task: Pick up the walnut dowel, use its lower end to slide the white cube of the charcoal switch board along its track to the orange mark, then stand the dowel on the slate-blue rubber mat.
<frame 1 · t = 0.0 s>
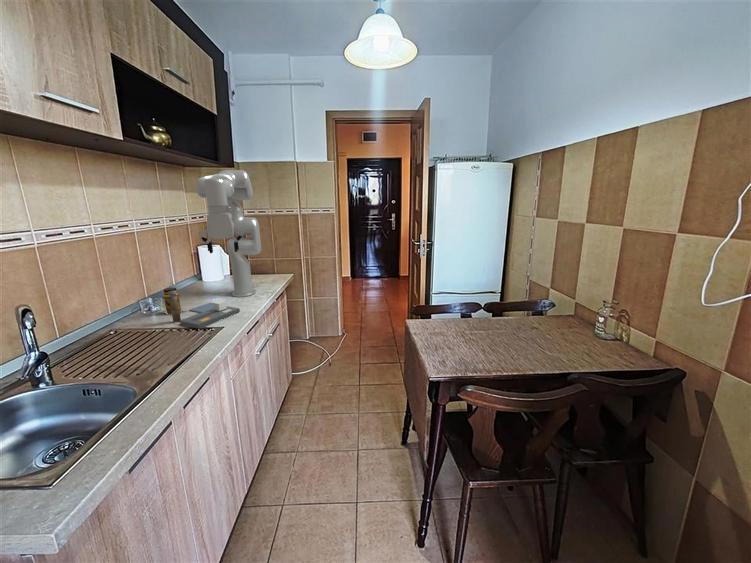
hand: (224, 252, 141), 31 cm above the worktop, tool pointing down, fingers open, 9 cm apart
switch board: (211, 318, 154), on the worktop
condiment: (173, 312, 163), on the worktop
dowel: (177, 321, 150), on the worktop
tool mat: (207, 308, 167), on the worktop
white cube: (219, 305, 158), point 4 cm above the worktop, slide at 0.0 cm
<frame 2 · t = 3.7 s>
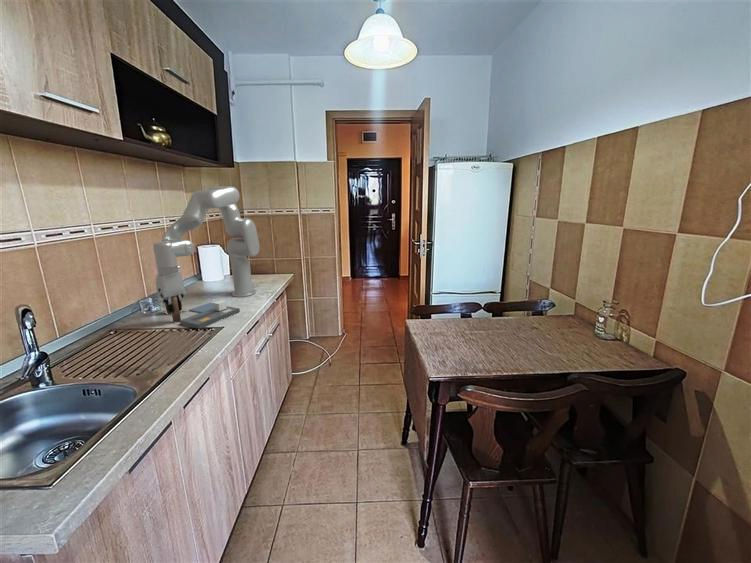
hand: (175, 310, 149), 5 cm above the worktop, tool pointing down, fingers closed on dowel, 3 cm apart
dowel: (177, 321, 150), on the worktop, touching gripper
everything else where it was.
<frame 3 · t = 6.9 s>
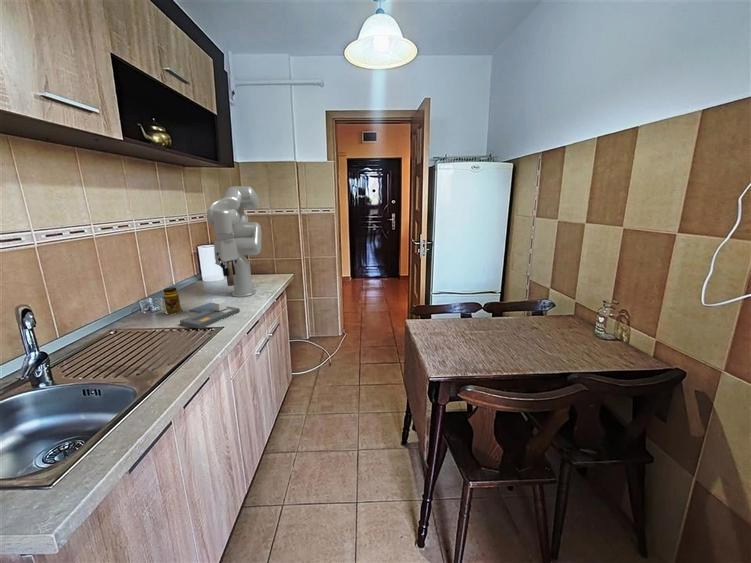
hand: (229, 274, 162), 17 cm above the worktop, tool pointing down, fingers closed on dowel, 3 cm apart
dowel: (231, 285, 163), point 12 cm above the worktop, touching gripper
everything else where it was.
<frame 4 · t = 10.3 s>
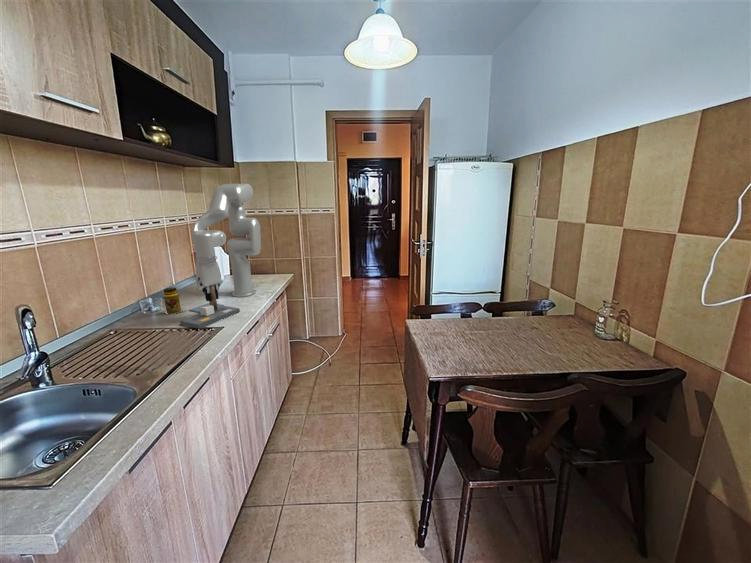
hand: (212, 299, 154), 8 cm above the worktop, tool pointing down, fingers closed on dowel, 3 cm apart
dowel: (214, 310, 156), point 3 cm above the worktop, touching gripper, white cube
white cube: (207, 310, 152), point 4 cm above the worktop, slide at 6.9 cm, touching dowel
everything else where it was.
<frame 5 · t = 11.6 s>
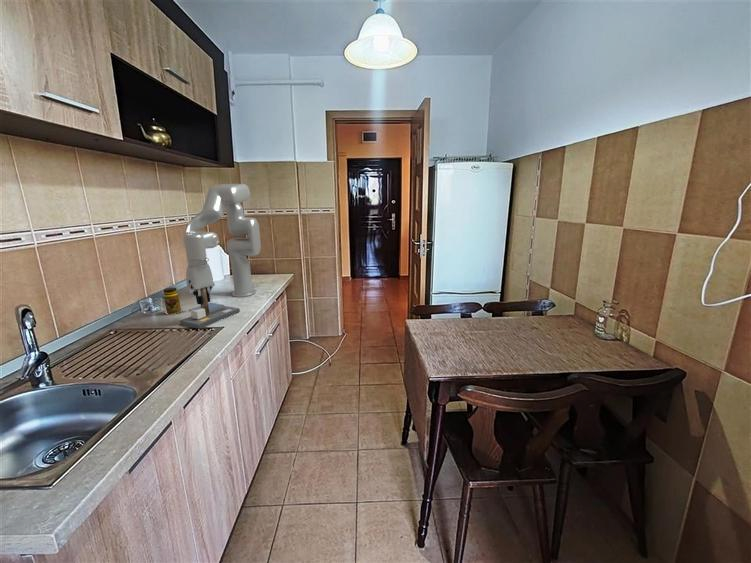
hand: (203, 302, 150), 8 cm above the worktop, tool pointing down, fingers closed on dowel, 3 cm apart
dowel: (205, 313, 152), point 3 cm above the worktop, touching gripper, white cube
white cube: (198, 313, 148), point 4 cm above the worktop, slide at 11.4 cm, touching dowel
everything else where it was.
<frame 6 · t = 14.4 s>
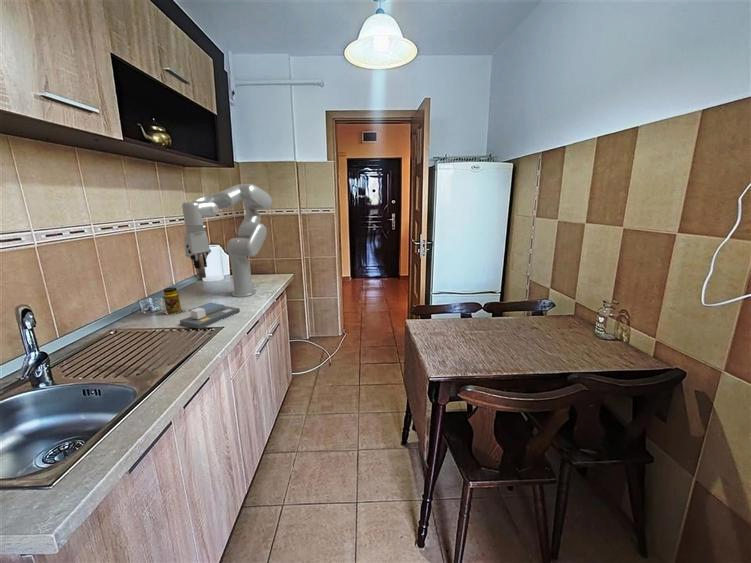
hand: (200, 267, 162), 21 cm above the worktop, tool pointing down, fingers closed on dowel, 3 cm apart
dowel: (202, 277, 163), point 16 cm above the worktop, touching gripper
white cube: (198, 313, 148), point 4 cm above the worktop, slide at 11.4 cm
everything else where it was.
when the fingers open (7 cm above the worktop, at t = 17.1 s): dowel drops 1 cm, resting on tool mat.
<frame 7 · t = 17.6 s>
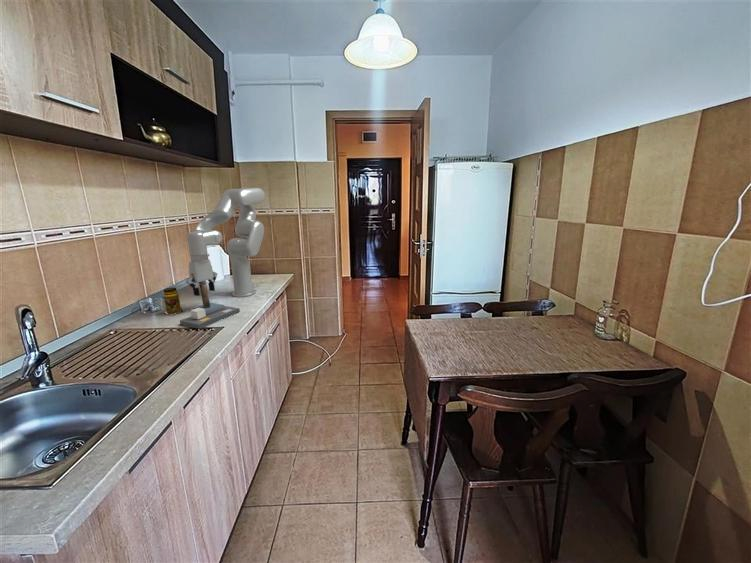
hand: (204, 292, 165), 8 cm above the worktop, tool pointing down, fingers open, 8 cm apart
dowel: (207, 307, 167), point 1 cm above the worktop, touching tool mat
everything else where it was.
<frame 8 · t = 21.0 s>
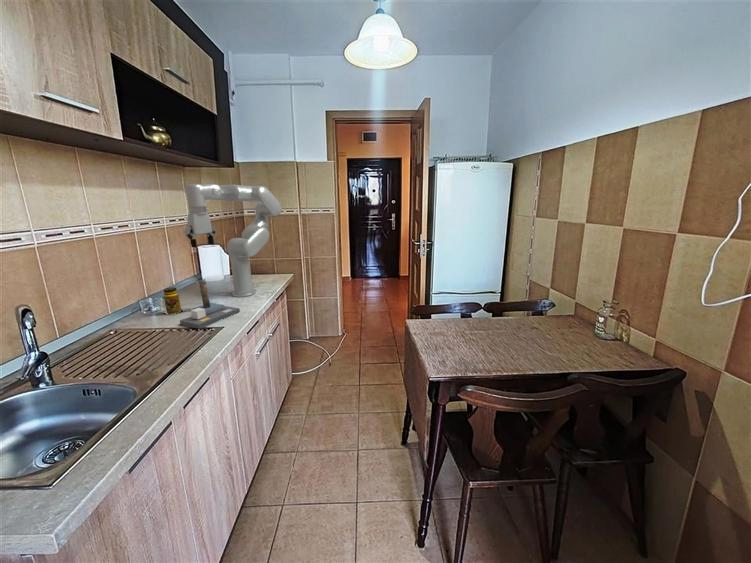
hand: (203, 245, 166), 30 cm above the worktop, tool pointing down, fingers open, 9 cm apart
nothing on the worktop moved.
at the end: white cube slide at 11.4 cm; dowel inside the target area on the tool mat (0.1 cm from its centre), point 0.6 cm above the tool mat's base; dowel tilted 2° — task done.
